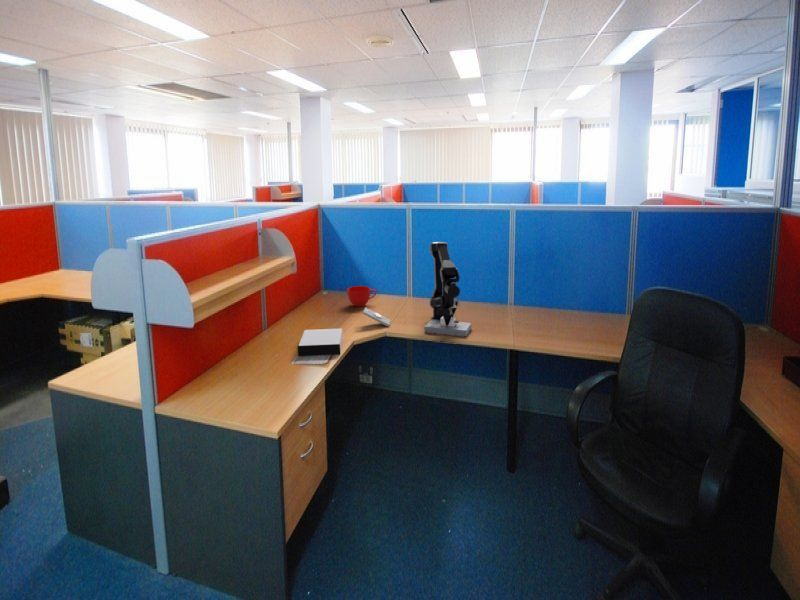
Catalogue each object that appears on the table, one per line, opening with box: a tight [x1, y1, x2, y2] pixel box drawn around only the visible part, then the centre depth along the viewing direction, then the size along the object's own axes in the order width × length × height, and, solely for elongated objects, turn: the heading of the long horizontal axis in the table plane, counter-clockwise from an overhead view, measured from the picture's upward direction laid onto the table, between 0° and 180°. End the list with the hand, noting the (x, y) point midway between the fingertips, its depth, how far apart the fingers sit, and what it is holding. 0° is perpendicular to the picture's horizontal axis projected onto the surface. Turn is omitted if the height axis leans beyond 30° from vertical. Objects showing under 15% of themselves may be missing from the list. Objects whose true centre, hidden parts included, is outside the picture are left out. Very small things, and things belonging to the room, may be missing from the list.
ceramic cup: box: [346, 285, 378, 308], centre depth 276 cm, size 13×17×10 cm
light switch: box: [362, 307, 391, 327], centre depth 241 cm, size 8×6×14 cm
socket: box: [424, 319, 472, 337], centre depth 229 cm, size 12×20×3 cm, turn 70°
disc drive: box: [297, 328, 343, 357], centre depth 211 cm, size 18×22×5 cm
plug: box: [441, 316, 460, 327], centre depth 229 cm, size 4×8×6 cm, turn 70°
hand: (448, 324), depth 229 cm, fingers closed on plug, 4 cm apart
